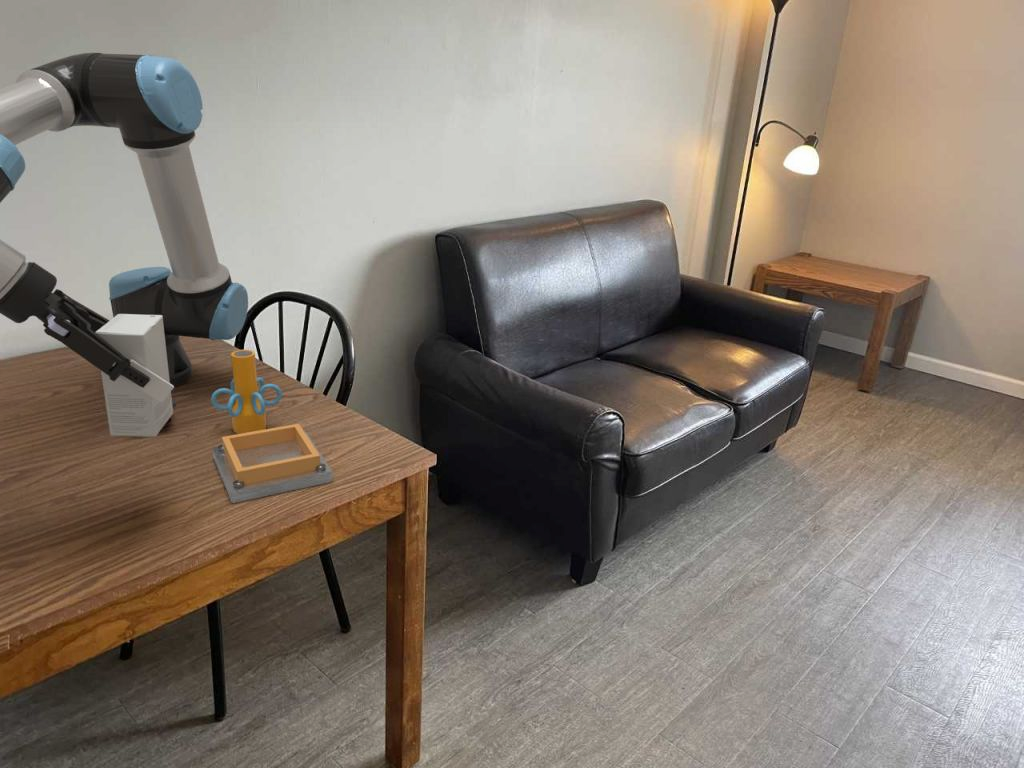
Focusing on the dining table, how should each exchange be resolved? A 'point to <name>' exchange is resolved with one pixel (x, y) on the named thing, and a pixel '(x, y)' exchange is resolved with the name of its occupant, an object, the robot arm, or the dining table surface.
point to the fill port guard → (276, 467)
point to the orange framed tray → (272, 486)
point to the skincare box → (123, 400)
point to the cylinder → (246, 394)
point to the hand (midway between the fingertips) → (162, 380)
